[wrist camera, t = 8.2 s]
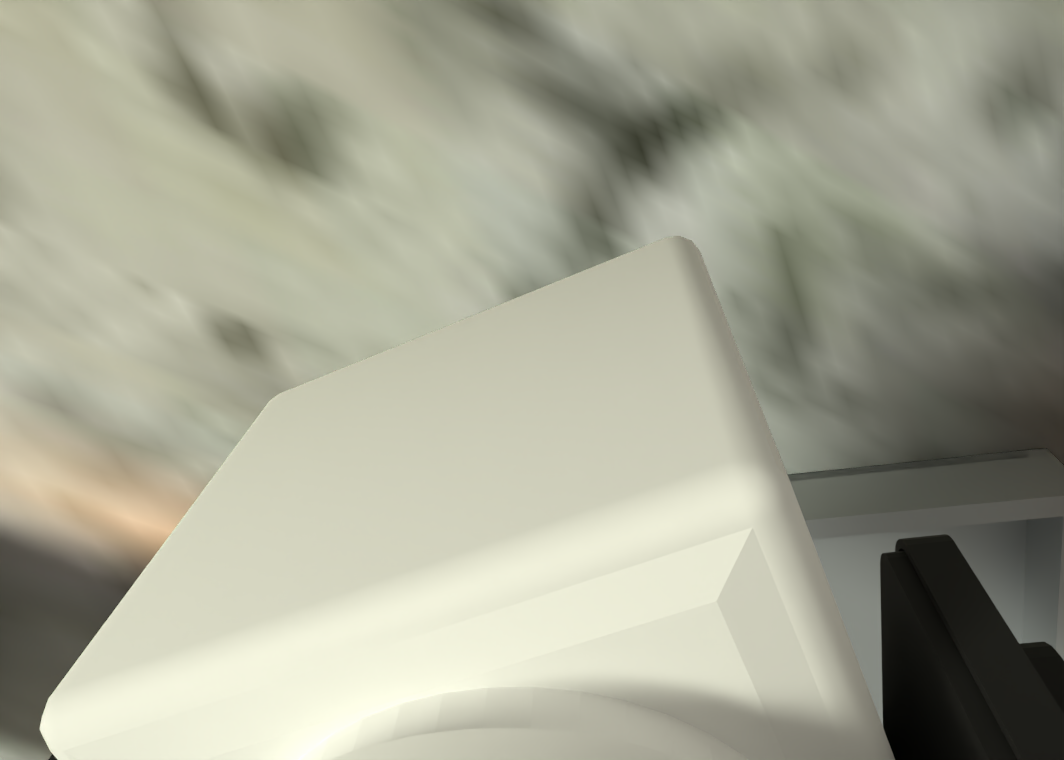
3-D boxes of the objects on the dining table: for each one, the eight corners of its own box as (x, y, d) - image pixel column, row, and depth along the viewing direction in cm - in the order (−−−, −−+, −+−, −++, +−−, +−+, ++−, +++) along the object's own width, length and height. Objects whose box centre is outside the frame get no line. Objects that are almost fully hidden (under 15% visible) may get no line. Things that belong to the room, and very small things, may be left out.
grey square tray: (539, 500, 27) (532, 546, 25) (1046, 448, 25) (1090, 493, 23) (602, 849, 32) (602, 914, 30) (1028, 828, 30) (1061, 896, 28)
